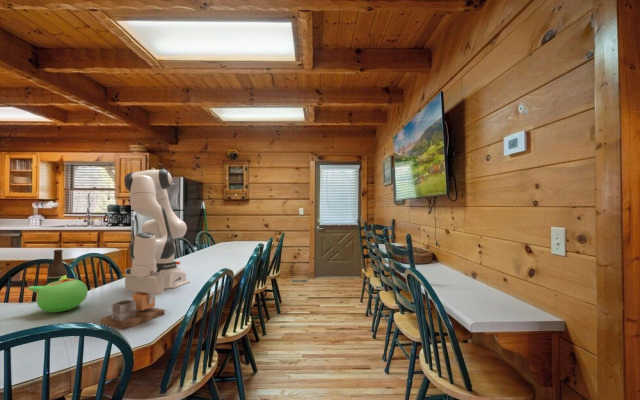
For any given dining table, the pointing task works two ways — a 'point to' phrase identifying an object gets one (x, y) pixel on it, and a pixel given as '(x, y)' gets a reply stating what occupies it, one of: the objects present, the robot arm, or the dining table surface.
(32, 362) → the dining table surface
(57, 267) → the beer bottle
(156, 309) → the pin board
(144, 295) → the terracotta sleeve
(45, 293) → the gravy boat
